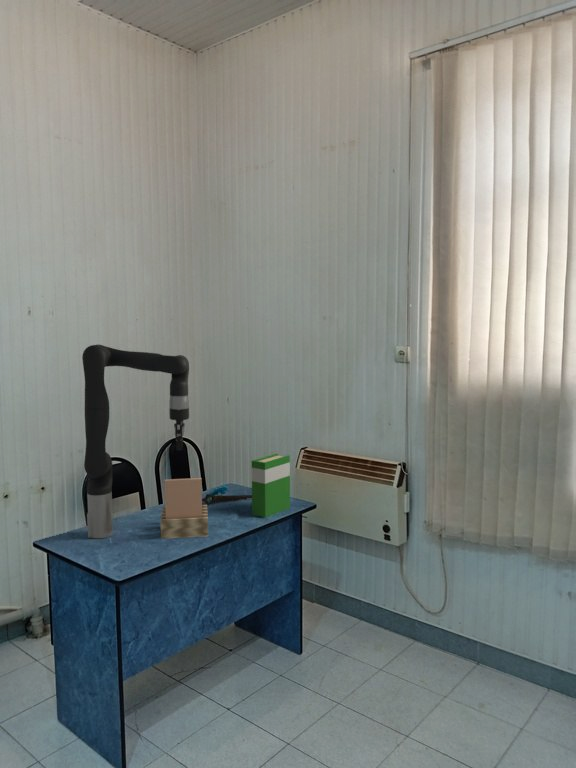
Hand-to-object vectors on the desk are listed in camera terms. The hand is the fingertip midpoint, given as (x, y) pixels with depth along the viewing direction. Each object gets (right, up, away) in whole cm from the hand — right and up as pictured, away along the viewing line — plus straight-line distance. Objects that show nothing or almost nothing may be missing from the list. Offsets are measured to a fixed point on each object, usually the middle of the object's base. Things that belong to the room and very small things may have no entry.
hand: (179, 448), depth 250 cm
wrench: (+17, -31, +47) cm, 59 cm away
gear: (+9, -30, +51) cm, 59 cm away
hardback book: (+35, -32, +33) cm, 58 cm away
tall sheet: (+2, -34, -1) cm, 34 cm away
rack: (+1, -34, +5) cm, 35 cm away
